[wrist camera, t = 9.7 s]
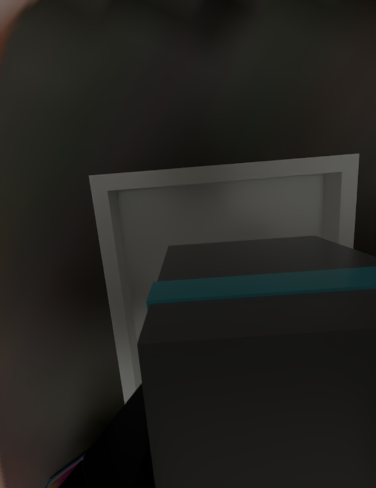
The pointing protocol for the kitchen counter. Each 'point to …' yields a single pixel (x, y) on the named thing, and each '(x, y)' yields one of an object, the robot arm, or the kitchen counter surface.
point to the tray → (208, 223)
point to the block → (261, 365)
